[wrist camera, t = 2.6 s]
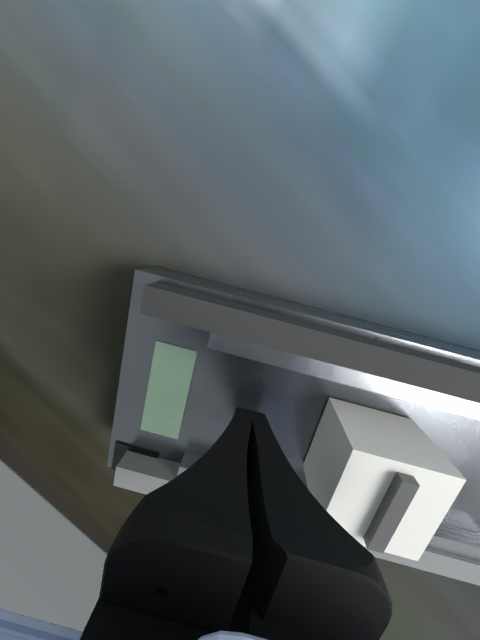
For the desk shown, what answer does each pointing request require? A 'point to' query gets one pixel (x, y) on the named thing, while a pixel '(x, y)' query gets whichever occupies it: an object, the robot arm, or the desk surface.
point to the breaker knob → (380, 478)
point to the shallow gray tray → (315, 345)
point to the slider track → (278, 393)
